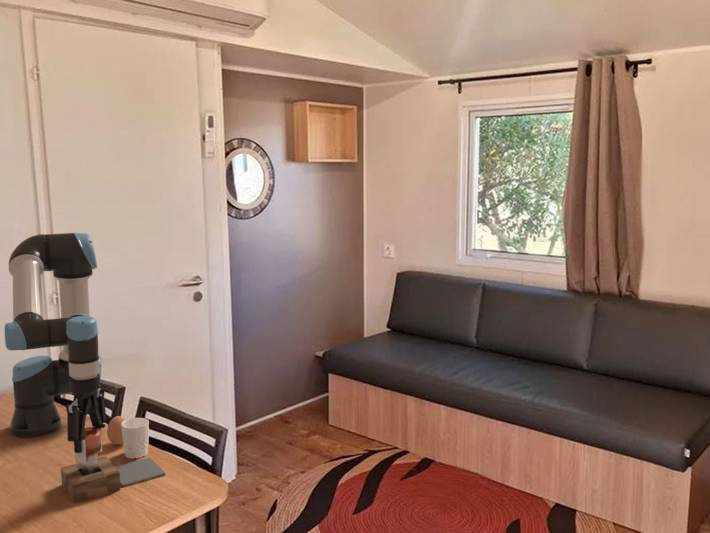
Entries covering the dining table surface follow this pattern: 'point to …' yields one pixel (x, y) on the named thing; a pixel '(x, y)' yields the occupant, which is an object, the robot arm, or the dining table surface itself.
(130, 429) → the white cup
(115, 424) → the egg
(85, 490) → the eye block
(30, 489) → the dining table surface
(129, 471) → the mat
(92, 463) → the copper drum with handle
